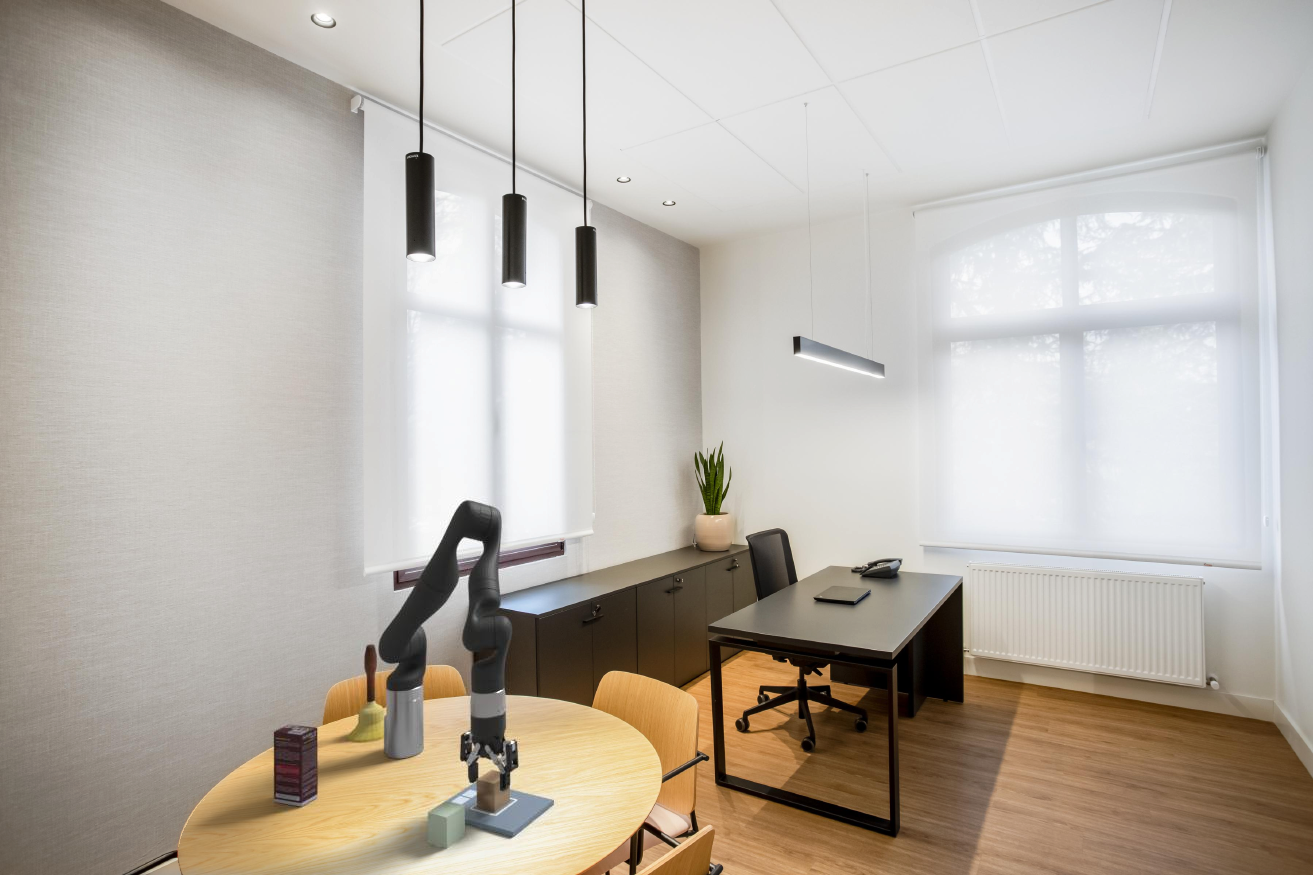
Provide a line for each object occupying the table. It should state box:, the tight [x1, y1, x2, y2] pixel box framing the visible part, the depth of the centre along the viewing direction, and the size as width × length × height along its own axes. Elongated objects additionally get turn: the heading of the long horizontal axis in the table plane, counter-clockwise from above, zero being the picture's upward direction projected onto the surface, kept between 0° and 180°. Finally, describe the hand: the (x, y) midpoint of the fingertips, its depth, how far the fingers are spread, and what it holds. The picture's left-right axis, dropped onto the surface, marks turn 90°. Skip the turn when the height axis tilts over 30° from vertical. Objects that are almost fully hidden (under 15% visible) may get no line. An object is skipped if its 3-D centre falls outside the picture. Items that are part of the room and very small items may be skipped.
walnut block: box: [476, 769, 511, 812], centre depth 144 cm, size 5×5×6 cm
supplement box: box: [273, 724, 319, 808], centre depth 151 cm, size 9×5×16 cm, turn 71°
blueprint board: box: [445, 782, 555, 838], centre depth 144 cm, size 22×14×1 cm, turn 63°
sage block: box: [427, 800, 466, 849], centre depth 133 cm, size 5×5×6 cm
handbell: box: [347, 643, 385, 744], centre depth 189 cm, size 12×12×25 cm
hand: (489, 785), depth 143 cm, fingers open, 8 cm apart
